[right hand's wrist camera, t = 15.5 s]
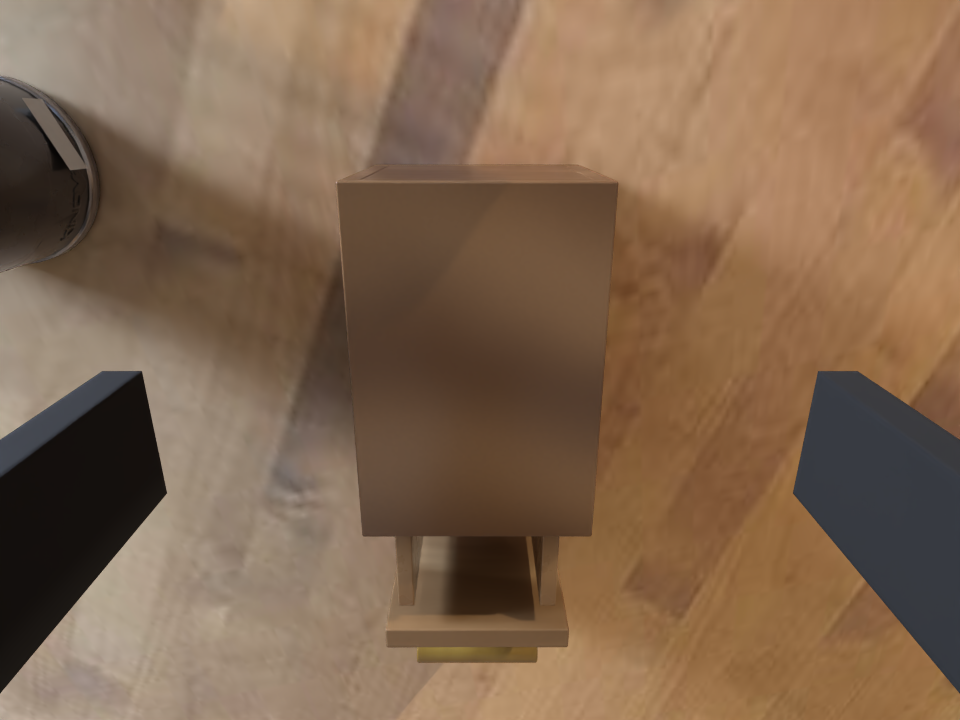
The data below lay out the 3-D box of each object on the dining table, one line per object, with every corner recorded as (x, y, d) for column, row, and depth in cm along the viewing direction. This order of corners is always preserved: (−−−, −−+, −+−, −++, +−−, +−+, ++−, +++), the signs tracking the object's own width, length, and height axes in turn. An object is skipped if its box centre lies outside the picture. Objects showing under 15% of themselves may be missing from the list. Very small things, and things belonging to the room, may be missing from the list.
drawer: (547, 613, 42) (563, 721, 35) (406, 613, 42) (390, 721, 35) (562, 328, 35) (585, 385, 28) (392, 328, 35) (368, 385, 28)
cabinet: (564, 437, 39) (591, 537, 29) (390, 436, 39) (362, 537, 29) (579, 164, 33) (619, 181, 24) (375, 164, 33) (334, 181, 24)
